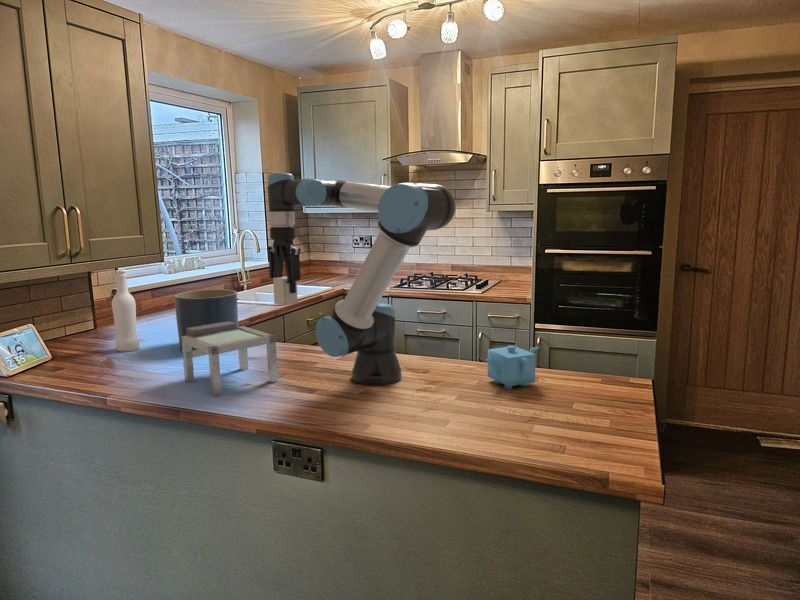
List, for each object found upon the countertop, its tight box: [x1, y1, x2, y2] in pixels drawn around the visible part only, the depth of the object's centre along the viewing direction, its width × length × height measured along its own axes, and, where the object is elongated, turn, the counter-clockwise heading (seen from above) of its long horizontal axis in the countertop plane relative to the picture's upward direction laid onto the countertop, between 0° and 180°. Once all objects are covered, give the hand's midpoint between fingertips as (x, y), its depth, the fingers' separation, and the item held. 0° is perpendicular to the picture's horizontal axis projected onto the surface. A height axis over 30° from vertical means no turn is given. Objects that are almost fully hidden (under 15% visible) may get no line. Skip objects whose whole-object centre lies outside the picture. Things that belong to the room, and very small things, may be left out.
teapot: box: [485, 345, 540, 390], centre depth 161 cm, size 16×18×11 cm
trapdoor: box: [186, 321, 261, 345], centre depth 168 cm, size 20×15×5 cm
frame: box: [181, 325, 279, 398], centre depth 166 cm, size 20×20×14 cm
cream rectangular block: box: [272, 275, 299, 307], centre depth 170 cm, size 5×5×8 cm
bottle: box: [111, 268, 141, 353], centre depth 205 cm, size 8×8×30 cm
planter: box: [173, 288, 239, 352], centre depth 210 cm, size 22×22×20 cm
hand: (285, 302), depth 170 cm, fingers closed on cream rectangular block, 5 cm apart
